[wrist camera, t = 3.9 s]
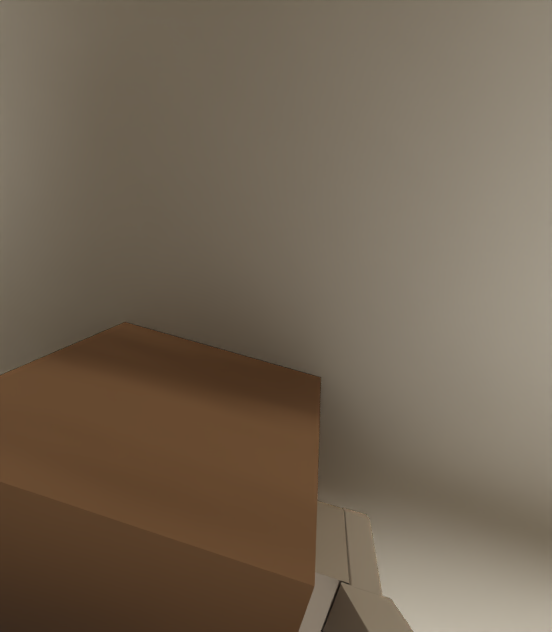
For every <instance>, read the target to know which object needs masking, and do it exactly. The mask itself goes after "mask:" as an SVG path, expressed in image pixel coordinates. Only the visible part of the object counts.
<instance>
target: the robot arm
mask: <svg viewBox="0 0 552 632" xmlns="http://www.w3.org/2000/svg"><path fill="white" fill-rule="evenodd" d="M299 632H413V630H412V629H411V627H410V626H409V624H408V623H407V621H406V620H405V619H404V617H403V616H402V614H401V613H400V611H399V610H398V608H397V607H396V605H395V604H394V602H393V601H392V600H391V599H390V598H387V597H384V596H382V590H381V584H380V578H379V571H378V565H377V559H376V553H375V547H374V541H373V535H372V529H371V523H370V518H369V517H368V515H367V514H364V513H360V512H357V511H353V510H350V509H346V508H341V507H337V506H334V505H331V504H327V503H324V502H321V501H318V500H317V527H316V560H315V587H314V590H313V592H312V595H311V598H310V601H309V604H308V606H307V609H306V612H305V615H304V618H303V621H302V623H301V626H300V629H299Z"/></svg>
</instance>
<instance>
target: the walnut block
mask: <svg viewBox="0 0 552 632" xmlns="http://www.w3.org/2000/svg"><path fill="white" fill-rule="evenodd" d="M320 394H321V377H317V376H314V375H310V374H307V373H303V372H300V371H296V370H292V369H289V368H285V367H282V366H278V365H275V364H271V363H268V362H264V361H261V360H257V359H254V358H250V357H247V356H243V355H239V354H236V353H232V352H229V351H225V350H222V349H218V348H215V347H211V346H208V345H204V344H201V343H197V342H193V341H190V340H186V339H183V338H179V337H176V336H172V335H169V334H165V333H162V332H158V331H155V330H151V329H148V328H144V327H140V326H137V325H133V324H130V323H126V322H124V323H122V324H119V325H117V326H115V327H112V328H110V329H107V330H105V331H103V332H100V333H98V334H96V335H93V336H91V337H89V338H86V339H84V340H82V341H79V342H77V343H75V344H72V345H70V346H68V347H65V348H63V349H61V350H58V351H56V352H54V353H51V354H49V355H47V356H44V357H42V358H39V359H37V360H35V361H32V362H30V363H28V364H25V365H23V366H21V367H18V368H16V369H14V370H11V371H9V372H7V373H4V374H2V375H0V632H299V629H300V626H301V623H302V621H303V618H304V615H305V612H306V609H307V606H308V604H309V601H310V598H311V595H312V592H313V590H314V587H315V560H316V527H317V493H318V460H319V427H320Z"/></svg>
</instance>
